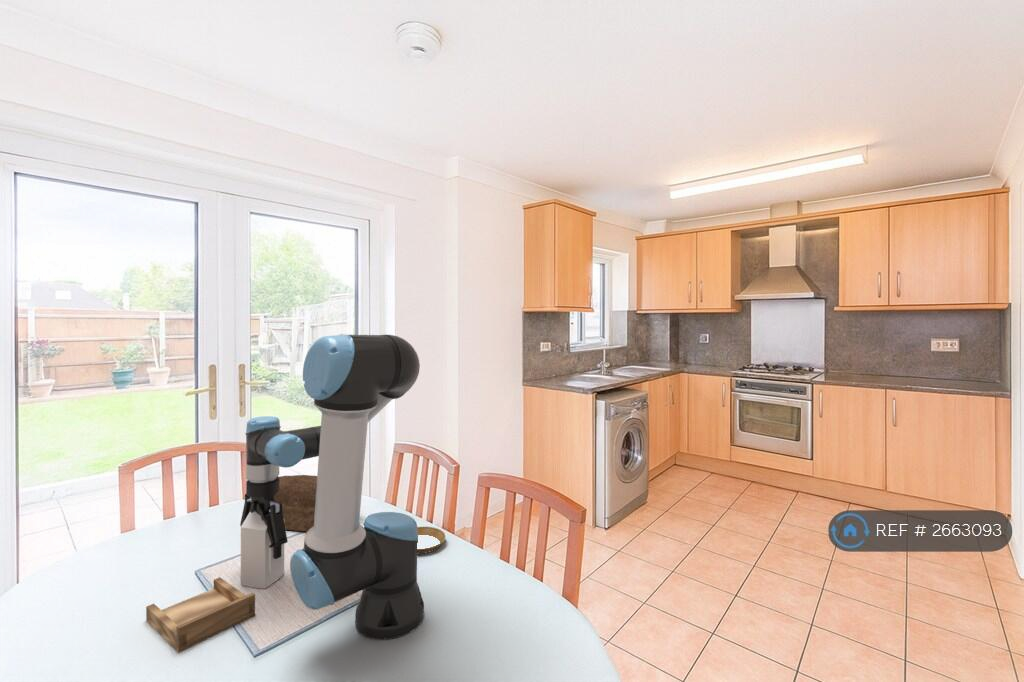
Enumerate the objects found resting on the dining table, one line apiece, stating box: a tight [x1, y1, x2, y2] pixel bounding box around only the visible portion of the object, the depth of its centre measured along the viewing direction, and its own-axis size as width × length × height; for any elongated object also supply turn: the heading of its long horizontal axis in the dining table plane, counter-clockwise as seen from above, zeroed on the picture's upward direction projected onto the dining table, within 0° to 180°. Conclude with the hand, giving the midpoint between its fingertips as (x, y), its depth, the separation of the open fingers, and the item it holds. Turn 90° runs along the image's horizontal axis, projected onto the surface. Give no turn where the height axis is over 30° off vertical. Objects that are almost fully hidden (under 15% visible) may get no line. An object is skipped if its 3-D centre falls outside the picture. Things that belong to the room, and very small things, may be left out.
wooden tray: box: [145, 576, 256, 654], centre depth 105 cm, size 17×15×5 cm
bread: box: [274, 474, 317, 533], centre depth 155 cm, size 15×32×16 cm, turn 81°
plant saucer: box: [417, 526, 446, 554], centre depth 142 cm, size 15×15×3 cm
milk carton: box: [240, 510, 285, 590], centre depth 120 cm, size 7×7×19 cm
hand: (262, 562), depth 120 cm, fingers open, 11 cm apart
